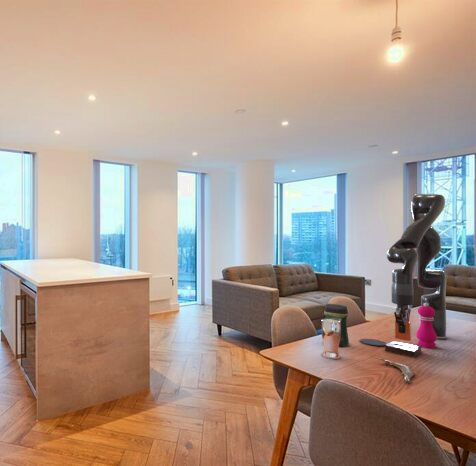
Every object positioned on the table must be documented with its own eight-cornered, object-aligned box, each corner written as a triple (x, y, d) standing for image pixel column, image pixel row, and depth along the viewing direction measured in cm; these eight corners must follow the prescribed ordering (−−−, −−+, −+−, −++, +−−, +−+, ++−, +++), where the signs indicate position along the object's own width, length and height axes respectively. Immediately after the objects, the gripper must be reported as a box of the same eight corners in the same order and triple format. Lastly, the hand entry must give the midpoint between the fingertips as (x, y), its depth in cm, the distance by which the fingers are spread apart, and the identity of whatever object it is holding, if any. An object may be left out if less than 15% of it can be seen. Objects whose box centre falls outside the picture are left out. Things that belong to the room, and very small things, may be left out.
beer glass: (338, 354, 143) (338, 319, 143) (343, 360, 136) (342, 323, 137) (319, 352, 145) (319, 318, 145) (323, 358, 139) (323, 322, 139)
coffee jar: (349, 343, 157) (349, 304, 157) (347, 348, 151) (347, 307, 151) (326, 339, 164) (326, 301, 164) (322, 343, 158) (322, 304, 158)
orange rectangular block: (396, 337, 149) (396, 319, 149) (410, 340, 145) (410, 322, 145) (395, 338, 149) (395, 320, 149) (409, 341, 144) (409, 322, 145)
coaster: (365, 338, 165) (365, 337, 165) (389, 343, 157) (389, 342, 157) (356, 342, 159) (356, 341, 159) (382, 348, 151) (382, 346, 151)
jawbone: (401, 365, 132) (402, 360, 132) (437, 389, 112) (438, 383, 112) (376, 361, 134) (376, 356, 134) (407, 384, 114) (407, 378, 114)
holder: (392, 346, 154) (392, 340, 154) (421, 352, 146) (421, 346, 146) (385, 350, 148) (385, 345, 148) (414, 357, 140) (414, 351, 140)
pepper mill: (441, 349, 150) (440, 304, 150) (422, 348, 151) (422, 303, 151) (430, 344, 157) (429, 301, 157) (412, 343, 158) (412, 300, 159)
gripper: (408, 296, 140) (408, 337, 140) (418, 292, 148) (418, 331, 148) (386, 293, 146) (386, 333, 146) (397, 290, 154) (397, 327, 154)
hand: (402, 332), depth 147 cm, fingers closed on orange rectangular block
